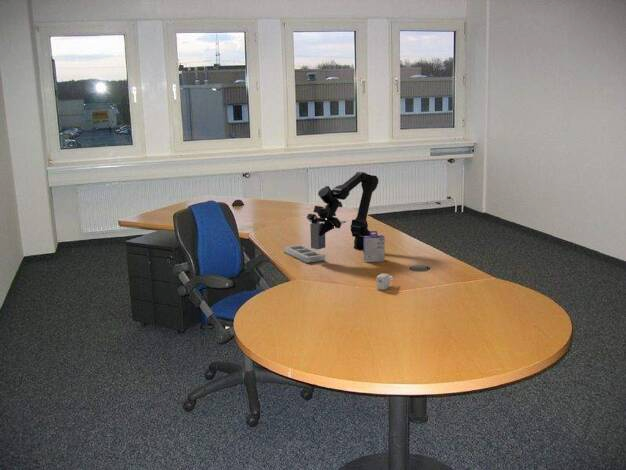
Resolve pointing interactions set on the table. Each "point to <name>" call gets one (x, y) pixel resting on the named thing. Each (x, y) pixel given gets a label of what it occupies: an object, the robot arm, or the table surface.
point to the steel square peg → (317, 236)
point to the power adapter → (383, 281)
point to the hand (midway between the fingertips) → (315, 234)
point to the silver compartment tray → (304, 254)
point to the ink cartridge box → (374, 247)
